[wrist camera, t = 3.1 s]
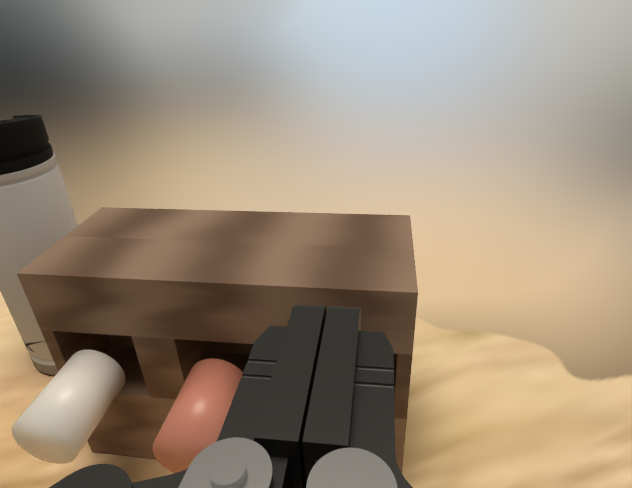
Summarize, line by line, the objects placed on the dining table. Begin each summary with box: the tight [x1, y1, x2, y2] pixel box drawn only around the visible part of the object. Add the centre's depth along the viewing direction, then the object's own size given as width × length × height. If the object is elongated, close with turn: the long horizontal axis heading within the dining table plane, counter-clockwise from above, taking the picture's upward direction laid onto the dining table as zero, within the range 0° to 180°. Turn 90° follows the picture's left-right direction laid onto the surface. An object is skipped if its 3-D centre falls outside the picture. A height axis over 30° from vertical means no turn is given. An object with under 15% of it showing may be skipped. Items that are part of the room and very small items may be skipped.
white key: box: [12, 350, 125, 464], centre depth 23 cm, size 3×4×3 cm
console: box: [17, 208, 418, 473], centre depth 29 cm, size 20×8×14 cm, turn 82°
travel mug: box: [0, 115, 78, 375], centre depth 34 cm, size 6×7×20 cm
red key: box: [153, 359, 243, 473], centre depth 22 cm, size 3×4×3 cm
